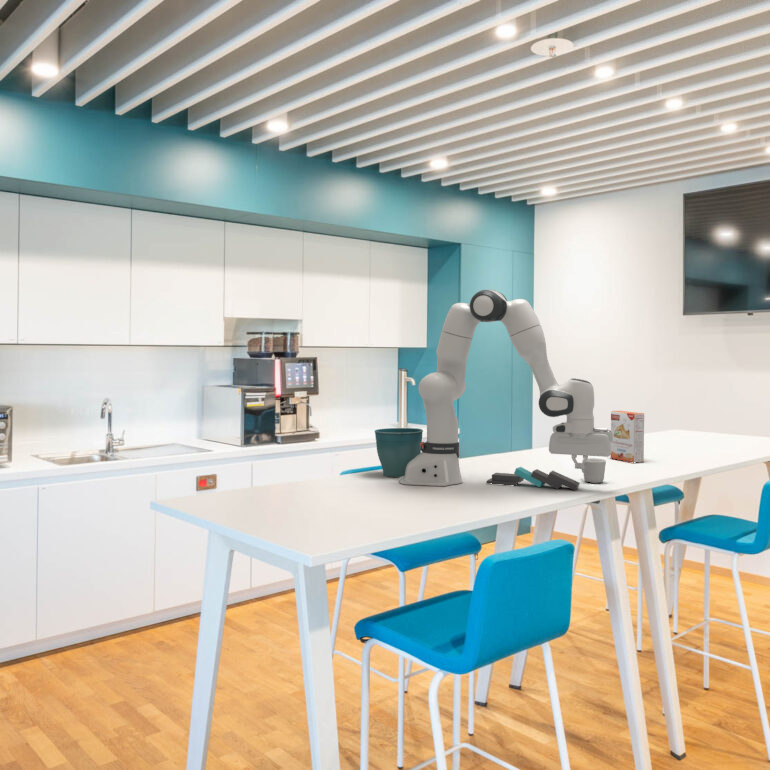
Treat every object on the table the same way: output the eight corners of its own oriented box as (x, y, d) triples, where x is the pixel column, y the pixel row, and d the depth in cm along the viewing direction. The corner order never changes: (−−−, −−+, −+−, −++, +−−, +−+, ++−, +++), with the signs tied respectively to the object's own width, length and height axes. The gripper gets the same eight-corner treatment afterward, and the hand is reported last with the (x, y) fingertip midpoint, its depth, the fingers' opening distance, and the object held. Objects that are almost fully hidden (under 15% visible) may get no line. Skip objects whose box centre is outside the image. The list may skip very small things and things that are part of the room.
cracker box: (609, 459, 319) (610, 410, 318) (620, 458, 322) (621, 410, 321) (633, 463, 306) (633, 413, 305) (644, 462, 309) (645, 412, 308)
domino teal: (546, 480, 255) (520, 466, 260) (541, 482, 251) (516, 468, 255) (543, 485, 256) (518, 471, 260) (539, 487, 251) (513, 473, 256)
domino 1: (518, 480, 259) (490, 478, 263) (514, 482, 254) (486, 480, 259) (518, 485, 259) (490, 483, 263) (514, 488, 255) (486, 486, 259)
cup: (572, 479, 267) (573, 457, 267) (591, 478, 270) (591, 456, 270) (591, 484, 257) (591, 461, 257) (610, 483, 260) (610, 460, 260)
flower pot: (365, 477, 273) (365, 431, 272) (388, 470, 289) (388, 426, 288) (409, 481, 264) (410, 433, 264) (430, 473, 280) (430, 429, 280)
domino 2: (523, 474, 259) (496, 472, 263) (519, 476, 254) (491, 474, 259) (523, 480, 259) (496, 478, 263) (519, 482, 254) (491, 480, 259)
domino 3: (563, 481, 253) (536, 469, 257) (560, 483, 248) (532, 471, 252) (561, 487, 253) (534, 474, 257) (557, 489, 248) (530, 476, 253)
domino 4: (580, 482, 250) (552, 470, 254) (577, 485, 246) (549, 472, 249) (577, 488, 251) (550, 475, 254) (575, 490, 246) (547, 478, 250)
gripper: (613, 427, 246) (612, 469, 247) (551, 425, 254) (551, 465, 255) (611, 429, 240) (610, 471, 241) (548, 426, 248) (547, 467, 249)
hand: (579, 468), depth 248 cm, fingers closed
